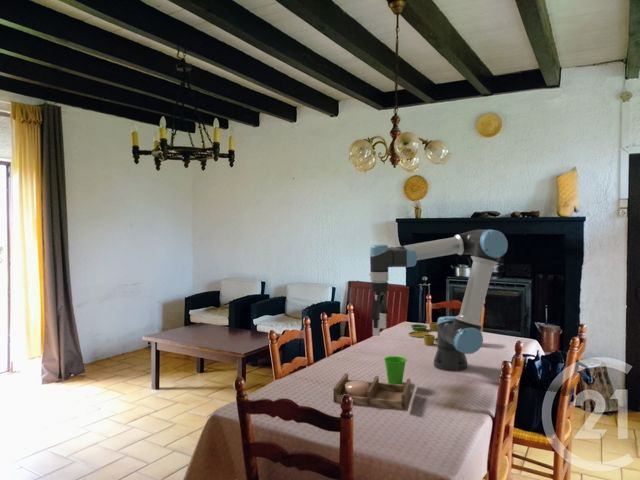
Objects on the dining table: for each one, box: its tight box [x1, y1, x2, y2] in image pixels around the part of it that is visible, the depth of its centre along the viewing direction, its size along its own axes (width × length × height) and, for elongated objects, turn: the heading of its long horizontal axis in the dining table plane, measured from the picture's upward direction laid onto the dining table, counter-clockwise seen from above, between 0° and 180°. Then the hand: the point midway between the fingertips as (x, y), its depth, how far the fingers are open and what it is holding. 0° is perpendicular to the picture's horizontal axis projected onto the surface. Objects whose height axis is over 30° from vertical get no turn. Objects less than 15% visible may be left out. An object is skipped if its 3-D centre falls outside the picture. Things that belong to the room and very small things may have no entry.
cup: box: [383, 355, 407, 385], centre depth 191 cm, size 9×9×11 cm
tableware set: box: [407, 322, 438, 347], centre depth 272 cm, size 41×28×6 cm
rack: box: [332, 373, 411, 411], centre depth 177 cm, size 26×18×6 cm
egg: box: [345, 380, 369, 397], centre depth 178 cm, size 9×9×4 cm
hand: (379, 331), depth 197 cm, fingers open, 13 cm apart
